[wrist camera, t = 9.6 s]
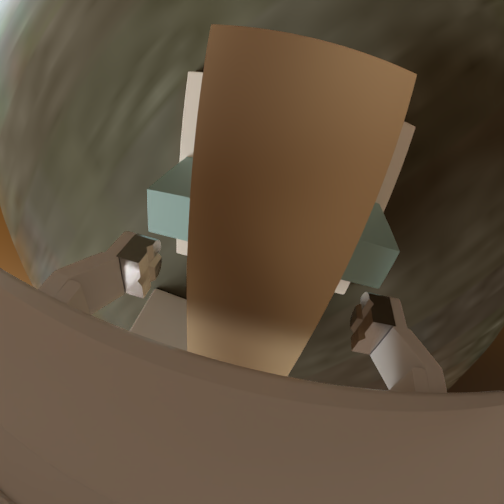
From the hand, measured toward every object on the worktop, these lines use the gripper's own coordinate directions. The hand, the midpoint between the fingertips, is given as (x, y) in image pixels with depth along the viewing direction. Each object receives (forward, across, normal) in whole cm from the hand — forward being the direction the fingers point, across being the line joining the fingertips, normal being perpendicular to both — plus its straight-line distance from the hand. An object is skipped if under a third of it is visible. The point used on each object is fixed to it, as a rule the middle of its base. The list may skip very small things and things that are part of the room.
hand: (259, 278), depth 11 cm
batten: (+3, 0, 0) cm, 3 cm away
